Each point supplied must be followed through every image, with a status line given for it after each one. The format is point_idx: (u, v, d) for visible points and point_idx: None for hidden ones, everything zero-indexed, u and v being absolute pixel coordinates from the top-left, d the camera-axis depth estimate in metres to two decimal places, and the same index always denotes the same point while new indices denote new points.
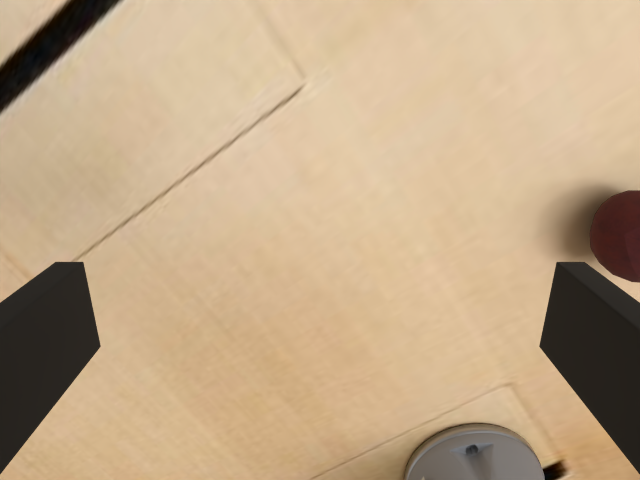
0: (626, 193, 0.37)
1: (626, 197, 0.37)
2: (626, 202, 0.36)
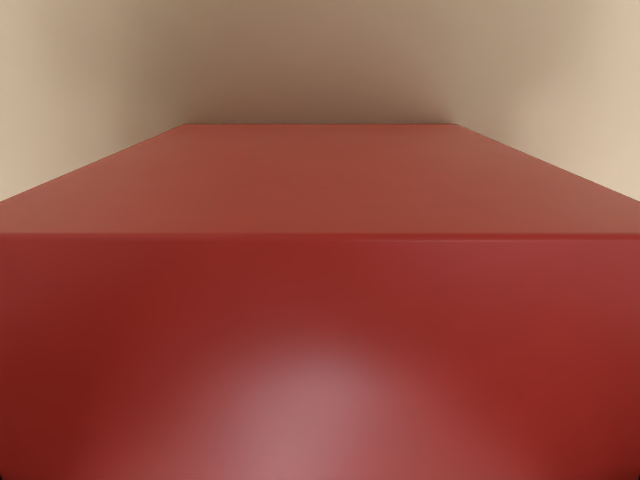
0: None
1: None
2: None
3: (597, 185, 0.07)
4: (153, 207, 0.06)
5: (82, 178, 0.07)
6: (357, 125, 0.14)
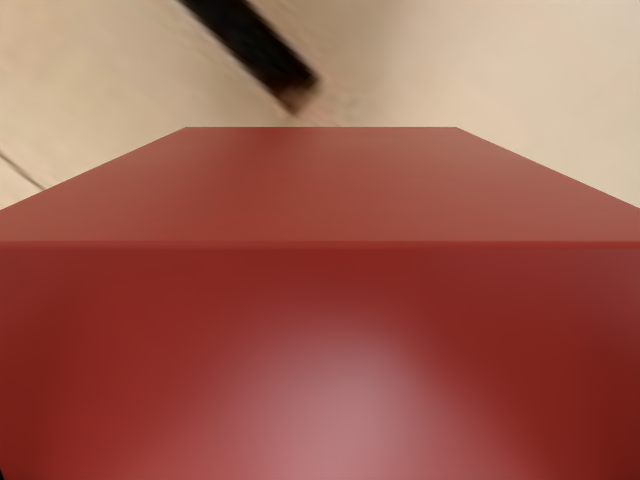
0: None
1: None
2: None
3: (597, 191, 0.07)
4: (155, 214, 0.06)
5: (85, 184, 0.07)
6: (358, 128, 0.14)
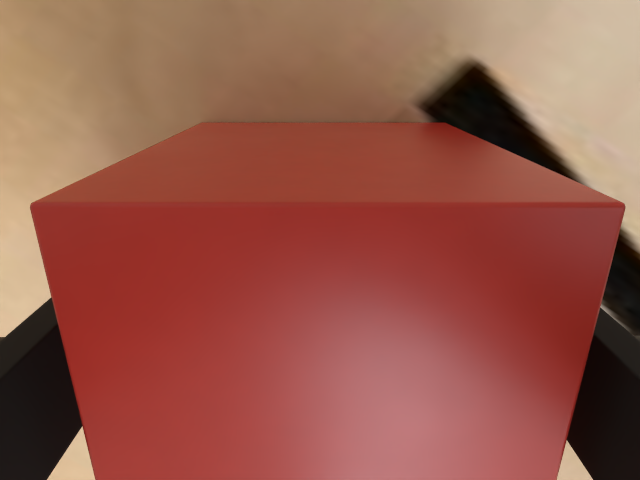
0: None
1: None
2: None
3: (548, 170, 0.09)
4: (197, 185, 0.08)
5: (132, 165, 0.09)
6: (356, 123, 0.16)
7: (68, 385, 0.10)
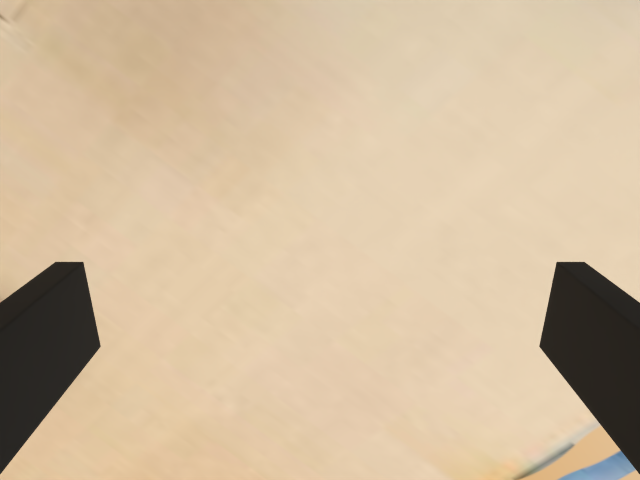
0: None
1: None
2: None
3: None
4: None
5: None
6: None
7: None
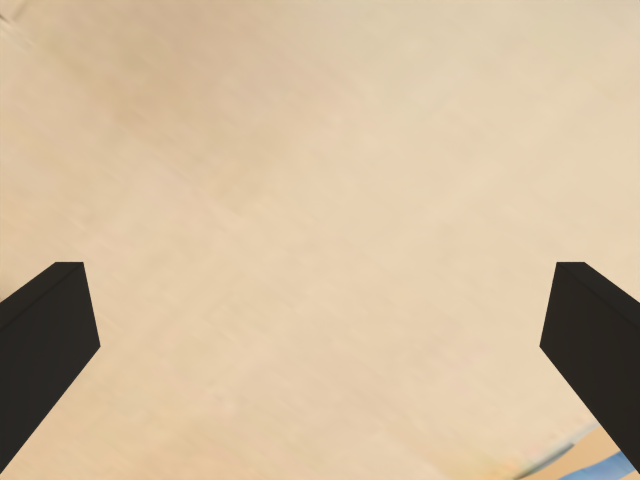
0: None
1: None
2: None
3: None
4: None
5: None
6: None
7: None
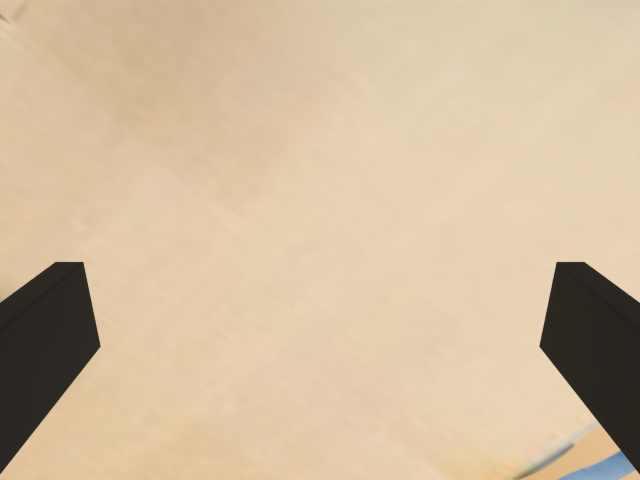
0: None
1: None
2: None
3: None
4: None
5: None
6: None
7: None
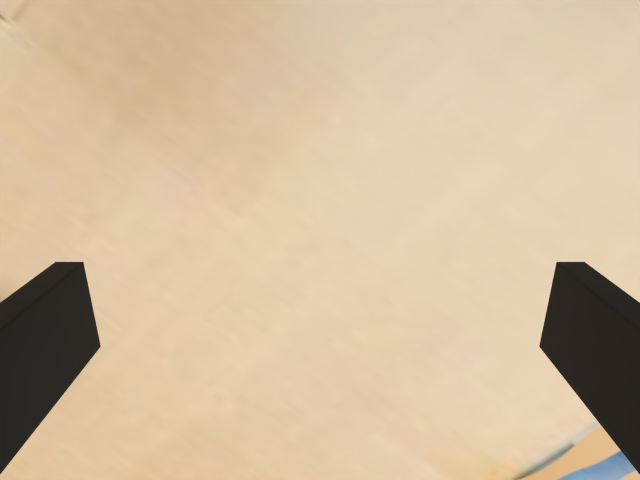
0: None
1: None
2: None
3: None
4: None
5: None
6: None
7: None
